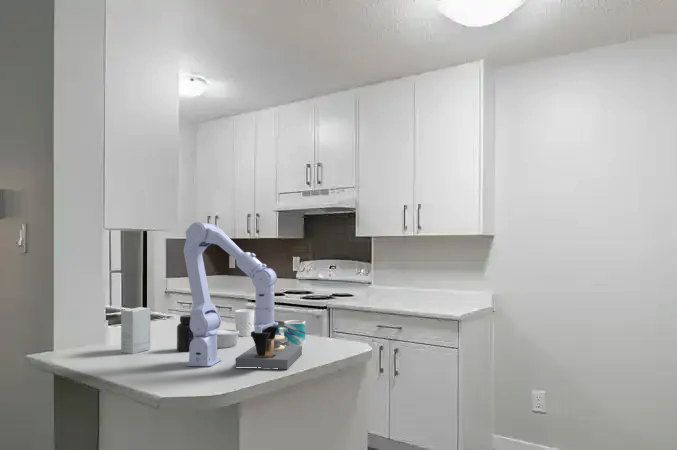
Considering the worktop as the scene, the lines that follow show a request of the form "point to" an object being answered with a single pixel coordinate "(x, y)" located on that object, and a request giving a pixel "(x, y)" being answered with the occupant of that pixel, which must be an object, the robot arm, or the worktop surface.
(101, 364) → the worktop surface
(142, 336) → the skincare box
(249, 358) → the notched board
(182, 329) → the supplement bottle
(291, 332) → the mug
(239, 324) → the white cup
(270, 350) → the wooden block
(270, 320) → the robot arm
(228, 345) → the ramekin
